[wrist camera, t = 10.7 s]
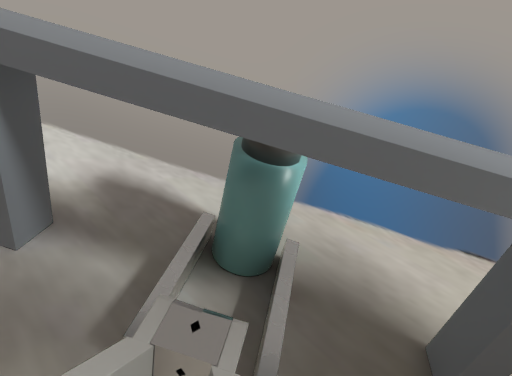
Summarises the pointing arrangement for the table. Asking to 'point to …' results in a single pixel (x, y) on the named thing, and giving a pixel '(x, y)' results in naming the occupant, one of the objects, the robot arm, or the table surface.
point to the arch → (260, 130)
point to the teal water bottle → (255, 206)
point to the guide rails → (279, 299)
